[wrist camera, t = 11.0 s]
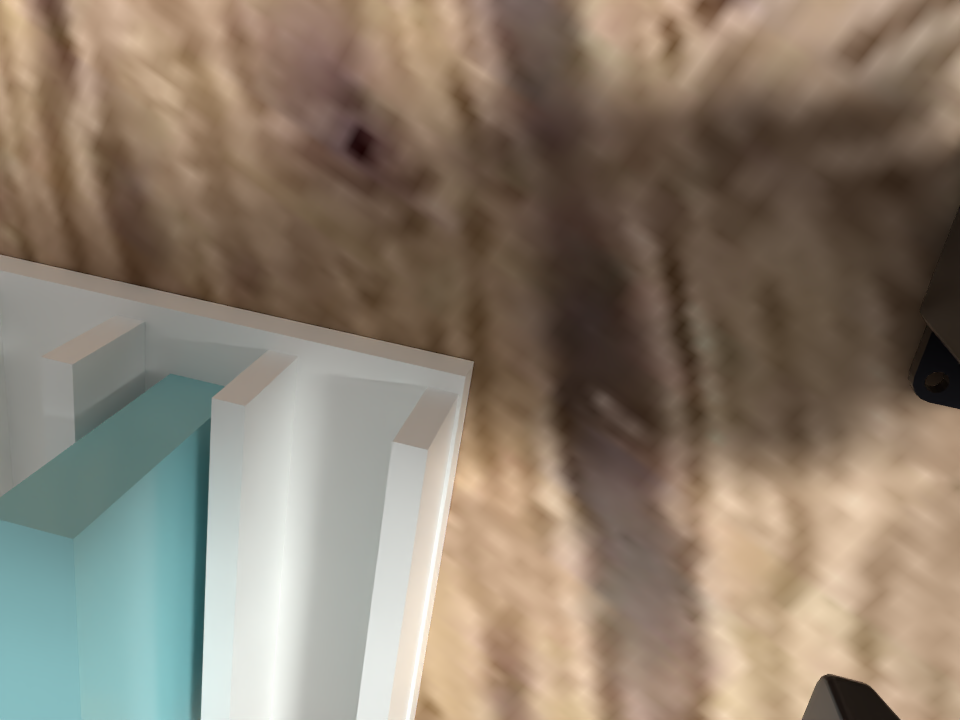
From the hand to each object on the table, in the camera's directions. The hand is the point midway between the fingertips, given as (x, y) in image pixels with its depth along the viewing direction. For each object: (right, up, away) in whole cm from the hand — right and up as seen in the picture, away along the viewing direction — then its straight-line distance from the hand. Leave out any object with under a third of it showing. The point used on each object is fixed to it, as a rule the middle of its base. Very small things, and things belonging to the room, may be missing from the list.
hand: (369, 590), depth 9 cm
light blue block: (-7, -3, +16) cm, 17 cm away
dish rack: (-7, -3, +17) cm, 18 cm away
